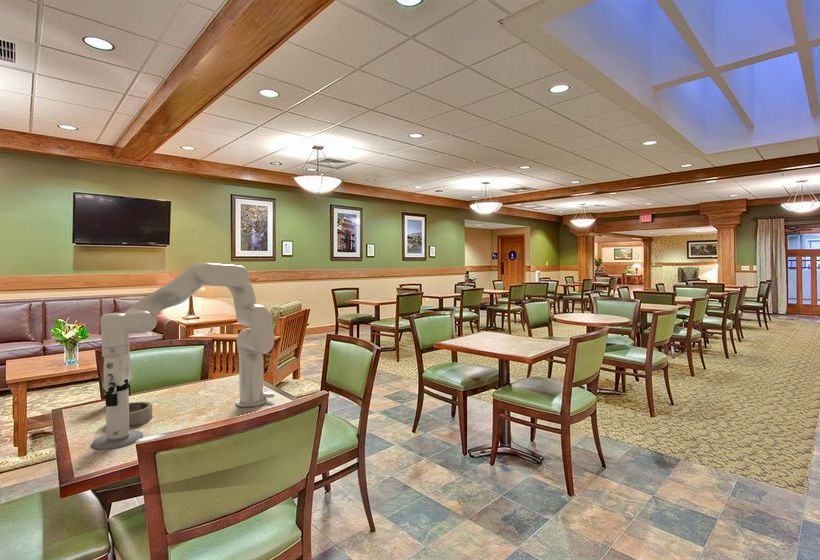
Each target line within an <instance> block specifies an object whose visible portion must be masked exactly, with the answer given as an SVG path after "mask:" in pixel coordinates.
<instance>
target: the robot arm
mask: <svg viewBox="0 0 820 560" xmlns="http://www.w3.org/2000/svg"><path fill="white" fill-rule="evenodd" d="M250 275H251V274H250V273H249V270H248V269H247V268H246V267H244V265H243V266H242V265H238V264H237V265H235V264H224V263H223V264H222V263H215V262H196V263H193V264H191V265H190V266H188V267H187V268H186V269H184V270H183V271H182V272H181V273H180V274H179V275H177V276H176V277H174V278H173V279H172V280H170V282H168V283H167V284H165V285H164V286H161V287H160V288H158V289H157V290H155V291H153V292H151V293H149V294H148V295H145V296H144V297H143V298H141V299H139V300H138V301H137V302H136V303H134V304H133V305H132V306H131V307H129V308H128V309H127V310H126V311H124V312H110V313H105V314H103V315H101V317H100V335H101V336H100V337H101V352H102V353H101V356H102V358H103V383H102V388H103V392H104V393H103V394H104V396H105V397H104V398H105V399H104V400H105V408H106V407H109V406H117V405H118V401H117V393H116V390H117V386H122V385H124V384H125V383H126V382H125V383H124V381H125V380H126V379H128V388H129V389H128V390H129V397H130V396H131V395H132V394H131V380H132V379H133V371H132V370H133V368H132V360H131V359H132V358H131V355H130V354H131V350H130V334H145V333H150V332H151V331H153V330H154V329H155V327H156V326H157V324H158V318H157V317H156V315H157V314H159V313H161V312H162V311H163V310H165V309H169V308H171V307H172V308H173V307H176V306H179V305H180V304H182V303H184V302H186V301H187V300H188V299H189V298H191V297H192V296H193V295H194V294H195V293H197V292H198V291H199V290H200V289H202V288H203V287H204V286H209V287H210V286H211V287H223V288H224V287H225V288H227V289H228V290H229V292H230V293H231V295H232V299H233V304H234V305H233V306H234V312H235V317H236V321H237V323H238V324H239V325H241V326H245V327H248V328H244V329H242V330H241V331H240V332H239V333H238V335H237V336H236V347H237V353H238V361H239V362H238V367H239V369H238V371H239V372H238V373H239V374H238V375H239V377H238V378H239V380H238V381H239V384H238V385H239V398H237V399H236V400H235V405H236V406H237V407H242V408H250V407H259V406H261V405H264V404H266V403H267V402H268V399H272V398H275V392H272V391H266V389H265V388H264V357H263V355H265V354H268V353H270V352H271V351H272V350H273V348H274V345H275V333H274V327H273V319H272V315H271V312H270V310H269V309H268V308H267V307H266V306H264V305H262V304H258V303H257V299H256V295H255V289H254V287H253V285H252V282H251V281H250V277H251V276H250ZM111 383H115V384H111ZM112 387H114V388H113V390H112Z"/></svg>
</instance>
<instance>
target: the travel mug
mask: <svg viewBox="0 0 820 560" xmlns="http://www.w3.org/2000/svg"><path fill="white" fill-rule="evenodd" d="M125 382H126V383H125ZM124 383H125V384H124V385H122V386H117V390H116V393H117V401H118V405H117V406H109V407H106V406H105V421H106V422H105V423H106V424H105V425H106V434H107V441H109V442H117V441H122V440H124V439H126V438H128V437H129V430H130V427H129V403H130V402H129V401H130V396H129V390H128V389H129V388H128V379H126V380H125V381H124ZM111 384H115V383H111ZM113 388H114V387H112V390H113Z"/></svg>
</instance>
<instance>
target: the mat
mask: <svg viewBox="0 0 820 560" xmlns="http://www.w3.org/2000/svg"><path fill="white" fill-rule="evenodd" d="M141 437H142V438H143V437H144V434H143V431H140V430H136V429H131V430H130V429H129V437H128V438H126V439H124V440H122V441H117V442H109V441H107V433H106V434H103V435H100V436H99V437H97V438H96V439H93V441H92V443H91V447H92V446H93V447H94V449H95V448H98V449H97V450H102V449H105V450H114V449H113V448H115V449H119V448H124V447H127V446H130V445H132V444H135V443H136V442H135V441H136V440H137V439H139V438H141ZM142 438H141V439H142ZM93 447H92V448H93Z"/></svg>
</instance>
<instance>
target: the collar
mask: <svg viewBox="0 0 820 560" xmlns="http://www.w3.org/2000/svg"><path fill="white" fill-rule="evenodd" d="M152 419H153V404H152V403H151V402H148V401H135V402H129V428H133V427H137V425H138V426H141V425H144V424H146V423H148V422H150V421H151V420H152Z"/></svg>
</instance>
